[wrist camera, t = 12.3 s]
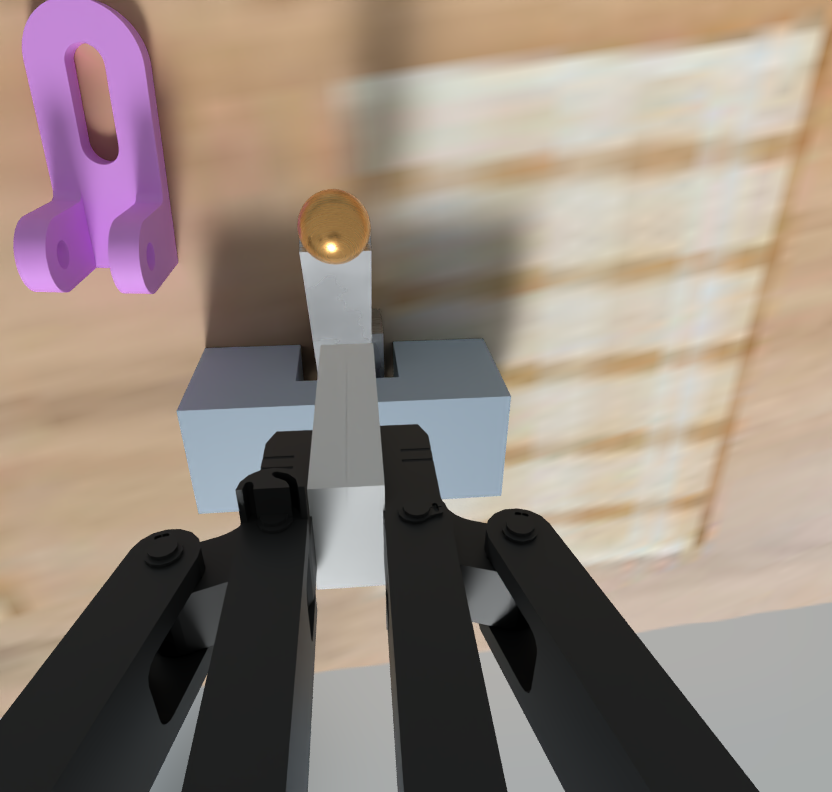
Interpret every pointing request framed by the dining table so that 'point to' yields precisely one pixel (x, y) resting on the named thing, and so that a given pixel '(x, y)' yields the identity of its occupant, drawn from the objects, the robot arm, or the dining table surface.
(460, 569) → the robot arm
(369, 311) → the latch bar
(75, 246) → the bracket
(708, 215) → the dining table surface
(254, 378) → the hitch block
